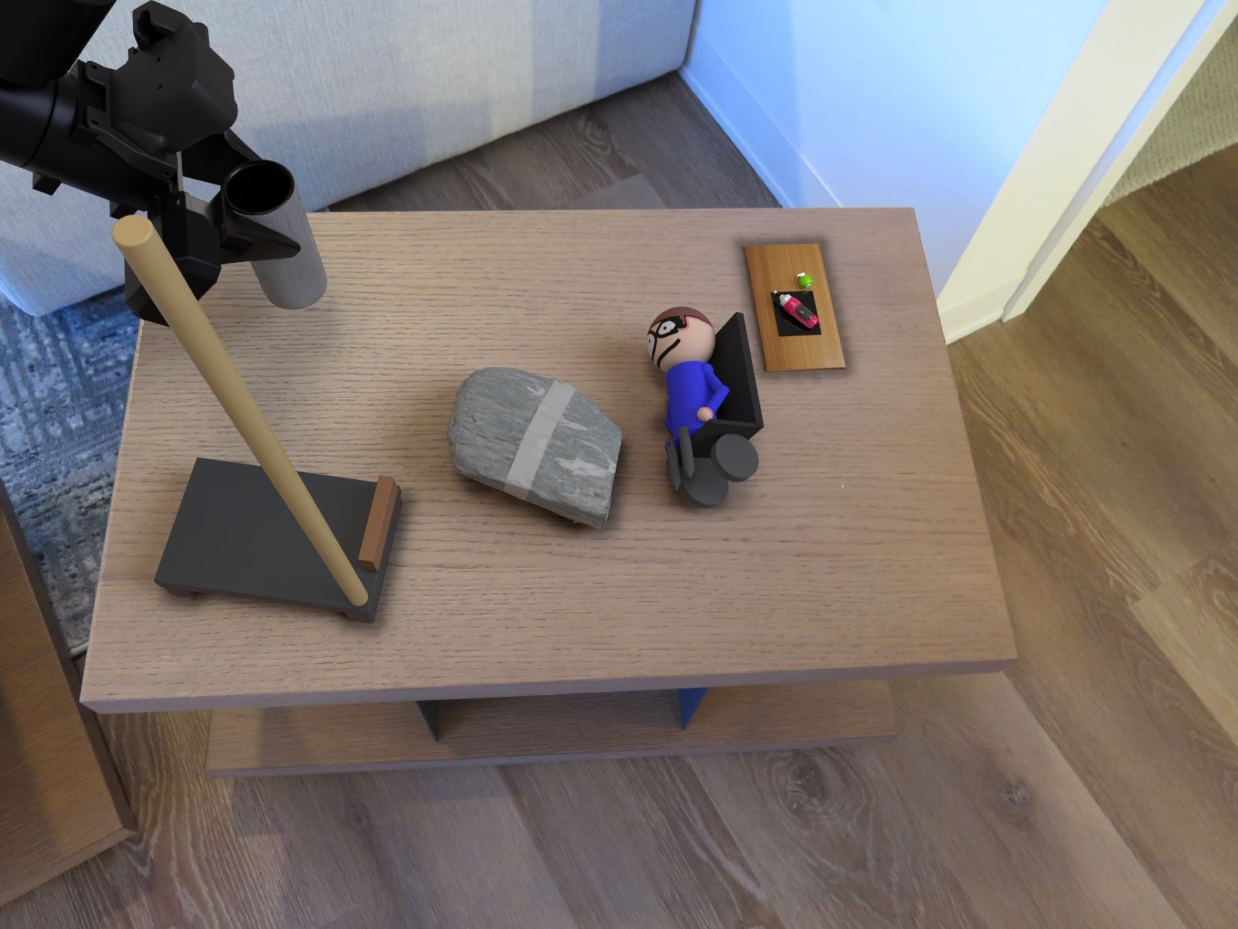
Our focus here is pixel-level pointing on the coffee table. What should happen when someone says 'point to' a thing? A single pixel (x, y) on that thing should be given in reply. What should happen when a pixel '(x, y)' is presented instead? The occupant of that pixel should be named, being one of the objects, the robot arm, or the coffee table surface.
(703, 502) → the character figurine
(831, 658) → the coffee table surface
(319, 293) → the planter
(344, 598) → the stand with wooden pole
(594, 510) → the decorative stone
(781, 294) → the board
